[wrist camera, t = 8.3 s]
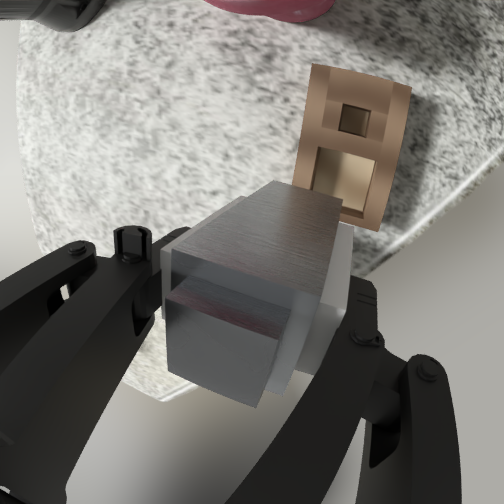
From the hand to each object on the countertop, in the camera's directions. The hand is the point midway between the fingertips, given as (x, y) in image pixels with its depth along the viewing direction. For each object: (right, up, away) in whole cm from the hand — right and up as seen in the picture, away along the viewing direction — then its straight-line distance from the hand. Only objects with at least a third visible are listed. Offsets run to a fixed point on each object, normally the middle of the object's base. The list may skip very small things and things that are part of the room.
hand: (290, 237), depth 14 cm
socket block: (+8, +10, +13) cm, 18 cm away
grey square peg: (+1, +1, +3) cm, 3 cm away
